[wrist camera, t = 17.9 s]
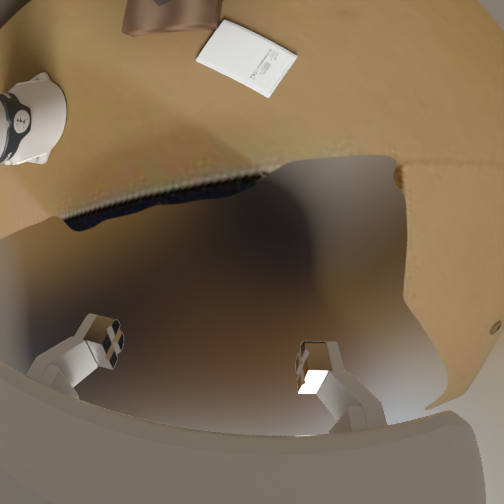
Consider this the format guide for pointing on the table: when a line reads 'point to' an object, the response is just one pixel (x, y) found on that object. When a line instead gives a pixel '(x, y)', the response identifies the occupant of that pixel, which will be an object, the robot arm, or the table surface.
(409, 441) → the robot arm
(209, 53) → the external hard drive
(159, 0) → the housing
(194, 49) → the table surface
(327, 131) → the table surface
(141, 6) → the stand
